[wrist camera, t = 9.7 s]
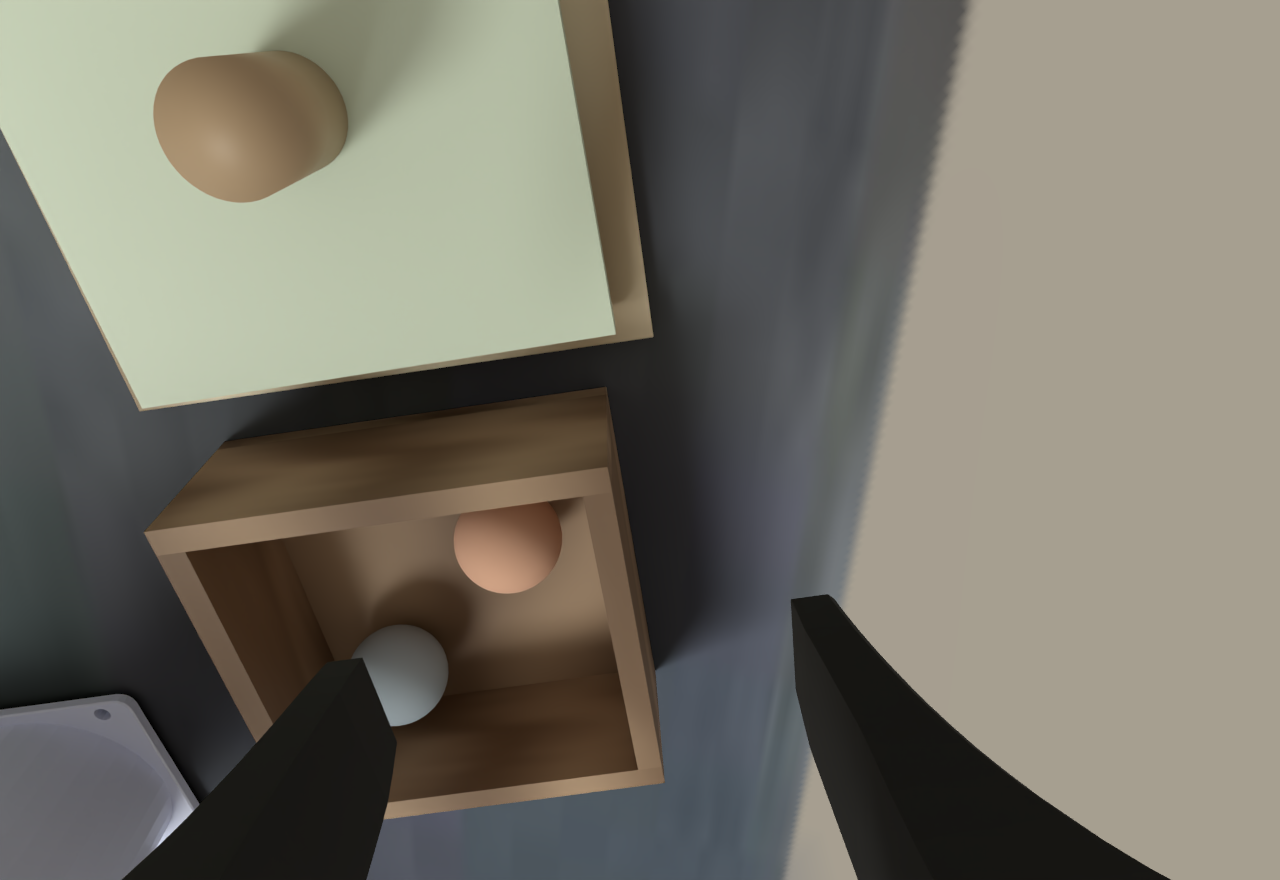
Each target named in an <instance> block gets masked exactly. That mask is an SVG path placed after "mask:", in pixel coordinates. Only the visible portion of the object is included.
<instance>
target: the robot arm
mask: <svg viewBox="0 0 1280 880" xmlns="http://www.w3.org/2000/svg"><path fill="white" fill-rule="evenodd" d="M791 611H792V629H793V647H794V665H795V682H796V692H797V696H798V700H799V704H800V708H801V713H802V717H803V721H804V725H805V729H806V733H807V737H808V741H809V745H810V748H811V751H812V754H813V757H814V760H815V763H816V765H817V768H818V771H819V773H820V776H821V779H822V782H823V785H824V787H825V790H826V793H827V796H828V799H829V801H830V804H831V807H832V809H833V812H834V815H835V818H836V821H837V823H838V826H839V829H840V832H841V834H842V837H843V840H844V842H845V845H846V848H847V850H848V854H849V856H850V859H851V862H852V864H853V867H854V870H855V872H856V875H857V878H858V880H1170V879H1169V878H1167V877H1165V876H1163V875H1161V874H1159V873H1157V872H1156V871H1154V870H1152V869H1150V868H1149V867H1147V866H1145V865H1143V864H1142V863H1140V862H1138V861H1137V860H1135V859H1134V858H1132V857H1130V856H1128V855H1127V854H1125V853H1123V852H1122V851H1120V850H1119V849H1117V848H1115V847H1114V846H1112V845H1111V844H1109V843H1107V842H1105V841H1104V840H1102V839H1101V838H1099V837H1098V836H1096V835H1095V834H1093V833H1092V832H1090V831H1089V830H1088V829H1086V828H1085V827H1083V826H1082V825H1080V824H1079V823H1077V822H1076V821H1074V820H1073V819H1071V818H1070V817H1068V816H1067V815H1066V814H1064V813H1063V812H1061V811H1060V810H1058V809H1057V808H1055V807H1054V806H1052V805H1051V804H1049V803H1048V802H1046V801H1045V800H1043V799H1042V798H1040V797H1039V796H1038V795H1036V794H1035V793H1034V792H1032V791H1031V790H1030V789H1028V788H1027V787H1026V786H1024V785H1023V784H1021V783H1020V782H1019V781H1018V780H1016V779H1015V778H1014V777H1013V776H1011V775H1010V774H1008V773H1007V772H1006V771H1005V770H1003V769H1002V768H1001V767H1000V766H998V765H997V764H996V763H995V762H993V761H992V760H991V759H990V758H989V757H987V756H986V755H985V754H984V753H982V752H981V751H980V750H979V749H977V748H976V747H975V746H974V745H973V744H972V743H970V742H969V741H968V740H967V739H966V738H965V737H964V736H962V735H961V734H960V733H959V732H958V731H957V730H955V729H954V728H953V727H952V726H951V725H950V724H949V723H948V722H947V721H946V720H945V719H944V718H942V717H941V716H940V715H939V714H938V713H937V712H936V711H935V710H934V709H933V708H932V707H931V706H929V705H928V704H927V703H926V702H925V701H924V700H923V699H922V698H921V697H920V696H919V695H918V694H917V693H916V692H915V691H914V690H913V689H912V688H911V687H910V686H909V685H908V684H907V682H906V681H905V680H904V679H902V677H901V676H900V675H899V674H898V673H897V672H896V671H895V670H894V669H893V668H892V667H891V666H890V665H889V664H888V663H887V662H886V660H885V659H884V658H883V657H882V656H881V655H880V654H879V653H878V652H877V651H876V649H875V648H874V647H873V646H872V645H871V644H870V643H869V641H867V639H866V638H865V637H864V636H863V635H862V634H861V632H860V631H859V630H858V629H857V627H856V626H855V625H854V624H853V623H852V621H851V620H850V619H849V618H848V616H847V615H846V614H845V612H844V611H843V610H842V609H841V607H840V606H839V605H838V603H837V602H836V601H835V599H833V598H832V597H831V596H829V595H828V594H826V595H819V596H812V597H804V598H797V599H791ZM396 747H397V741H396V738H395V736H394V733H393V731H392V728H391V726H390V723H389V721H388V719H387V716H386V714H385V711H384V709H383V706H382V704H381V702H380V699H379V697H378V694H377V692H376V689H375V687H374V684H373V682H372V680H371V677H370V675H369V672H368V670H367V667H366V665H365V662H364V660H363V658H355V659H348V660H340V661H333V662H327V663H326V664H325V665H324V666H323V667H322V668H321V669H320V670H319V672H318V673H317V674H316V675H315V676H314V677H313V678H312V679H311V681H310V682H309V683H308V684H307V685H306V686H305V687H304V689H303V690H302V691H301V692H300V693H299V694H298V696H297V697H296V698H295V699H294V700H293V701H292V703H291V704H290V705H289V706H288V707H287V708H286V710H285V711H284V712H283V713H282V714H281V715H280V717H279V718H278V719H277V720H276V721H275V722H274V724H273V725H272V726H271V727H270V728H269V729H268V730H267V732H266V733H265V734H264V735H263V736H262V737H261V738H260V739H259V741H258V742H257V743H256V744H255V745H254V746H253V747H252V749H251V750H250V751H249V752H248V753H247V754H246V755H245V756H244V758H243V759H242V760H241V761H240V762H239V763H238V764H237V765H236V767H235V768H234V769H233V770H232V771H231V772H230V773H229V774H228V775H227V776H226V777H225V778H224V779H223V780H222V781H221V782H220V783H219V785H218V786H217V787H216V788H215V789H214V790H213V791H212V792H211V793H210V794H209V795H208V796H207V797H206V798H205V799H204V800H203V801H202V802H201V803H200V804H199V802H198V801H197V799H196V798H195V796H194V794H193V793H192V791H191V790H190V788H189V786H188V785H187V783H186V781H185V780H184V778H183V777H182V775H181V773H180V772H179V770H178V768H177V767H176V765H175V764H174V762H173V760H172V759H171V757H170V755H169V754H168V752H167V751H166V749H165V747H164V746H163V744H162V742H161V741H160V739H159V738H158V736H157V734H156V733H155V731H154V730H153V728H152V726H151V725H150V723H149V721H148V720H147V718H146V717H145V715H144V713H143V712H142V710H141V708H140V707H139V705H138V704H137V702H136V701H135V700H134V699H133V698H132V697H130V696H128V695H124V694H113V695H106V696H98V697H91V698H84V699H76V700H69V701H62V702H54V703H47V704H39V705H32V706H25V707H17V708H10V709H3V710H0V880H366V879H367V875H368V872H369V868H370V865H371V861H372V858H373V855H374V851H375V848H376V844H377V840H378V837H379V833H380V830H381V826H382V823H383V819H384V815H385V812H386V808H387V804H388V799H389V793H390V787H391V781H392V775H393V768H394V761H395V754H396Z"/></svg>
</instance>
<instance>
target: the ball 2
mask: <svg viewBox="0 0 1280 880" xmlns="http://www.w3.org/2000/svg"><path fill="white" fill-rule="evenodd" d="M561 547H562V529H561V525H560V522H559V519H558V516H557V514H556V513H555V511H554V509H553V508H552V506H551V505H550V504H549V503H548V502H547V501H546V502H539V503H532V504H525V505H518V506H511V507H503V508H496V509H489V510H482V511H475V512H468V513H461V514H460V516H459V519H458V521H457V523H456V527H455V531H454V550H455V555H456V558H457V561H458V563H459V565H460V567H461V568H462V570H463V572H464V573H465V574H466V575H467V576H468V577H469V578H470V579H471V580H472V581H473V582H474V583H475V584H477V585H478V586H480V587H482V588H484V589H486V590H489V591H492V592H496V593H503V594H510V593H518V592H522V591H525V590H527V589H530V588H532V587H534V586H536V585H537V584H539V583H540V582H541V581H542V580H544V579H545V578H546V577H547V576H548V575H549V573H550V572H551V571H552V569H553V568H554V567H555V565H556V563H557V561H558V558H559V555H560V552H561Z"/></svg>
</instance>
